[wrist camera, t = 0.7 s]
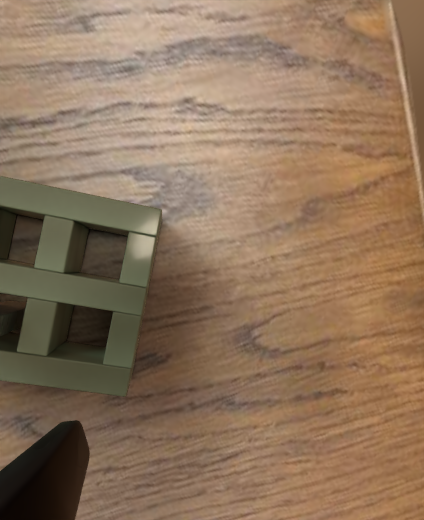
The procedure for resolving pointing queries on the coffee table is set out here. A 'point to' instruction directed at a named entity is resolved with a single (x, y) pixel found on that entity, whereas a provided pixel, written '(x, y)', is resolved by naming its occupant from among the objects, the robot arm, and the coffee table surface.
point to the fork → (11, 315)
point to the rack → (74, 287)
